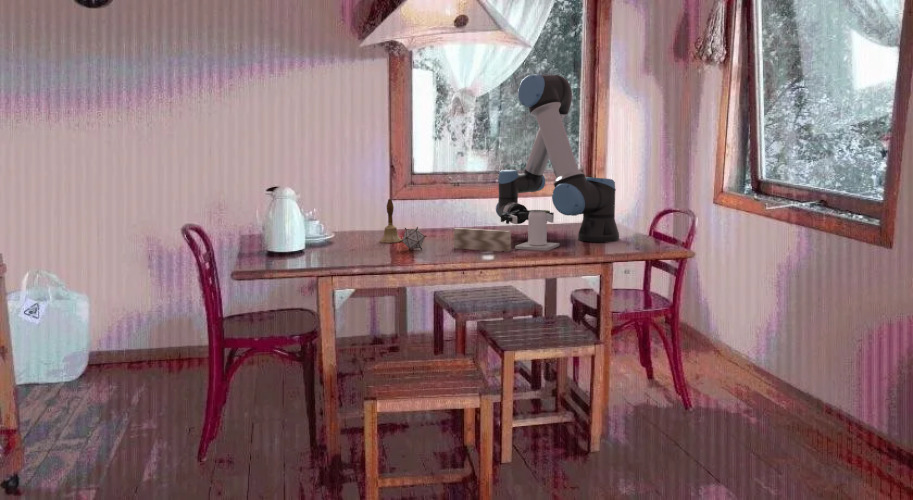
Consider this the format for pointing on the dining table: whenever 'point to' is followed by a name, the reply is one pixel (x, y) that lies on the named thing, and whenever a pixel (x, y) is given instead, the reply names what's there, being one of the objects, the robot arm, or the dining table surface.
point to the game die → (413, 238)
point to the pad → (542, 248)
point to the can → (537, 228)
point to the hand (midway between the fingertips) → (534, 219)
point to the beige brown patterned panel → (482, 239)
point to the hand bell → (390, 227)
